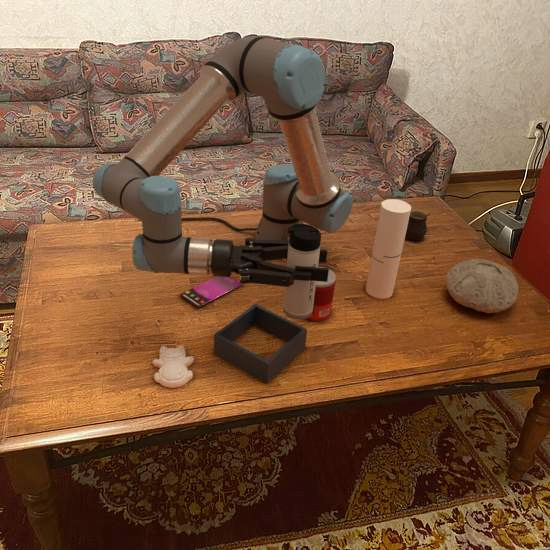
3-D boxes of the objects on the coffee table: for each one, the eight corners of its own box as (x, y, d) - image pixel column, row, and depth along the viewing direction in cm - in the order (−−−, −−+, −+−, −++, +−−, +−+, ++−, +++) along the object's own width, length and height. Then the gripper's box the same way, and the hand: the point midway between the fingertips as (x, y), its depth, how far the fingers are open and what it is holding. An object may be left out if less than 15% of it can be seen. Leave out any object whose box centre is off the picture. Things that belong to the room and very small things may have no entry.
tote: (213, 353, 123) (213, 334, 120) (254, 321, 133) (255, 303, 130) (266, 383, 116) (268, 364, 113) (305, 347, 126) (307, 329, 123)
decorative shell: (494, 331, 135) (506, 298, 130) (429, 299, 145) (438, 267, 139) (523, 301, 147) (535, 269, 141) (461, 273, 156) (470, 243, 151)
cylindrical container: (392, 300, 144) (411, 214, 130) (364, 296, 144) (380, 210, 131) (393, 285, 149) (411, 201, 135) (366, 281, 150) (381, 197, 136)
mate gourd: (407, 229, 176) (413, 200, 171) (429, 237, 173) (436, 208, 167) (397, 237, 171) (403, 208, 166) (420, 246, 168) (426, 216, 162)
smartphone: (179, 296, 139) (179, 293, 139) (223, 274, 149) (223, 271, 148) (198, 309, 136) (198, 306, 135) (242, 285, 145) (242, 282, 144)
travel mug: (280, 302, 120) (286, 220, 109) (310, 302, 121) (319, 221, 110) (282, 320, 115) (289, 236, 104) (314, 320, 116) (324, 237, 105)
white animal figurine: (195, 349, 124) (195, 338, 122) (192, 388, 114) (191, 377, 112) (155, 349, 123) (154, 338, 121) (148, 388, 113) (147, 377, 111)
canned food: (334, 307, 140) (339, 270, 134) (326, 325, 133) (331, 288, 127) (305, 299, 142) (309, 263, 135) (295, 317, 135) (299, 280, 129)
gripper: (218, 248, 121) (323, 256, 121) (205, 300, 105) (327, 309, 105) (218, 218, 117) (327, 225, 117) (205, 267, 101) (331, 276, 101)
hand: (327, 265), depth 111 cm, fingers closed on travel mug, 6 cm apart
